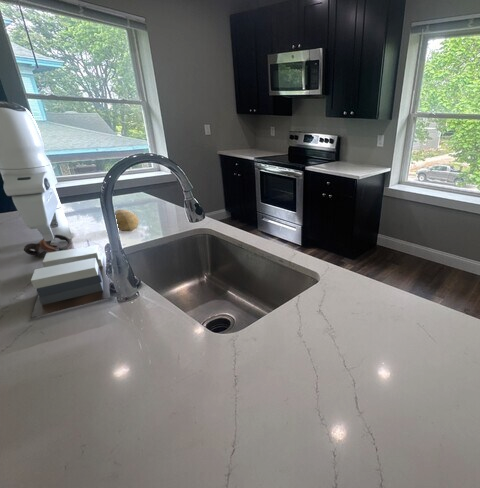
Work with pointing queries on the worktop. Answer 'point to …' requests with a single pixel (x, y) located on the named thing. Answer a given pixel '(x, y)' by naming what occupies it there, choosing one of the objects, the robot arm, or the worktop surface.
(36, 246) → the pottery mug
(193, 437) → the worktop surface
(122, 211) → the potato
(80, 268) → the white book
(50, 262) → the white stack
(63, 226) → the cylindrical container
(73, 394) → the worktop surface
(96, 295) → the shallow tray
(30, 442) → the worktop surface
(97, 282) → the grey stack
